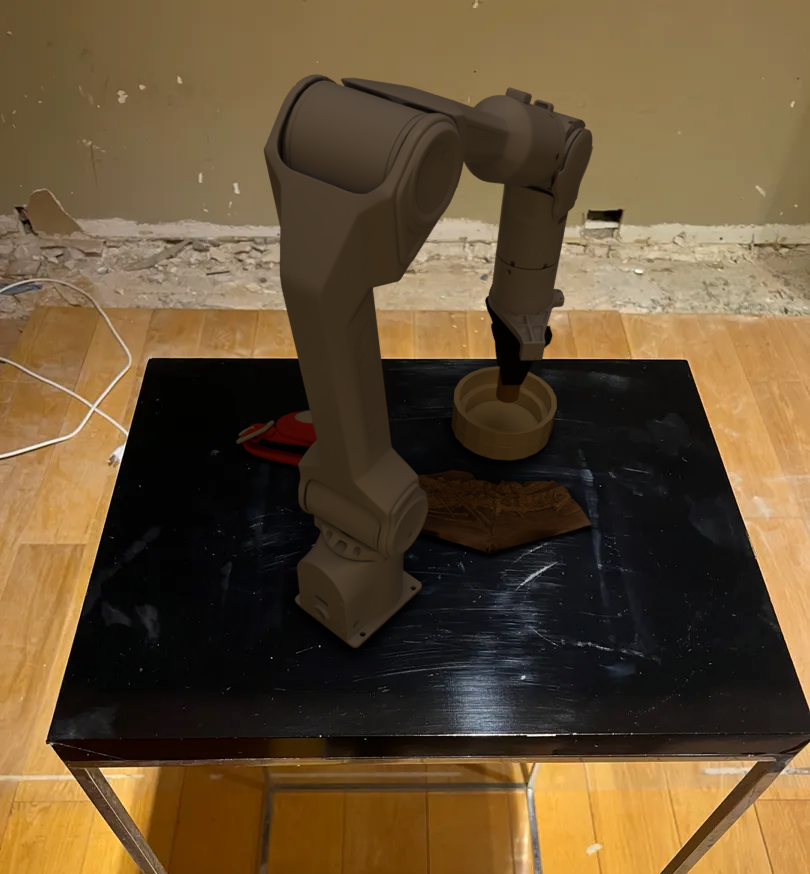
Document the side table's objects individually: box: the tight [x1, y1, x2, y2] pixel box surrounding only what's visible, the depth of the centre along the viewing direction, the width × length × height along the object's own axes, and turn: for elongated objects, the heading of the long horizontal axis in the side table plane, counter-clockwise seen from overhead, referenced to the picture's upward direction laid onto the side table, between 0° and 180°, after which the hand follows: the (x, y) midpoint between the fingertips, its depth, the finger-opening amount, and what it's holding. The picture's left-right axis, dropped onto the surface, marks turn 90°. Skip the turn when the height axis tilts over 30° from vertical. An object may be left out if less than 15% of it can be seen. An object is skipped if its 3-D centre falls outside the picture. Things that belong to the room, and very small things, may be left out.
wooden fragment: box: [416, 469, 594, 555], centre depth 84 cm, size 26×11×1 cm, turn 84°
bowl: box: [450, 365, 558, 461], centre depth 92 cm, size 11×11×4 cm
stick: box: [496, 368, 521, 403], centre depth 83 cm, size 2×2×9 cm
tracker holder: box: [235, 409, 317, 467], centre depth 89 cm, size 12×4×10 cm
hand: (509, 373), depth 84 cm, fingers closed on stick, 2 cm apart
